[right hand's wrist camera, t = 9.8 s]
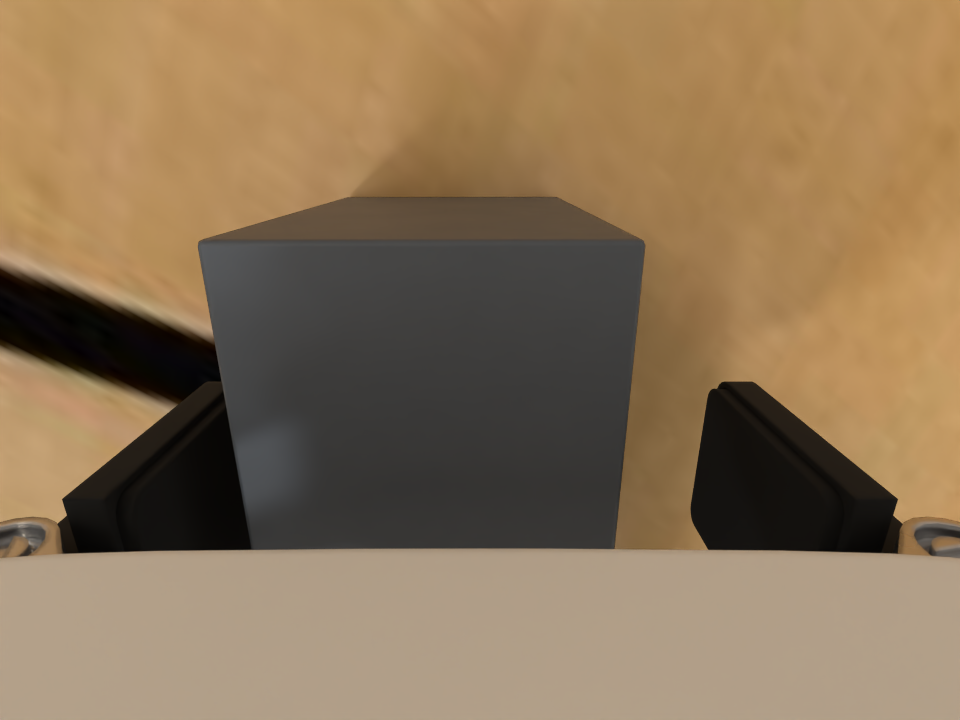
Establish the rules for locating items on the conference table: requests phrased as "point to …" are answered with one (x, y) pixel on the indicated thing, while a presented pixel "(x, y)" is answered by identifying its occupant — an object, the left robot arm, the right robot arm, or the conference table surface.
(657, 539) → the conference table surface
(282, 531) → the beam
